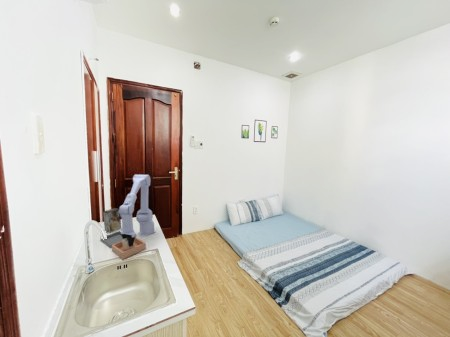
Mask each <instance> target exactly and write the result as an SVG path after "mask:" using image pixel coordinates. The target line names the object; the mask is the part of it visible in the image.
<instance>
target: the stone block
mask: <svg viewBox="0 0 450 337" xmlns="http://www.w3.org/2000/svg"><path fill="white" fill-rule="evenodd" d="M122 246H123V248H125V249H126V250H128V249H130V248H132V247H134V246H135V242H134V243H133V246H131V247H129V244H128V240H127V238H125V239H122Z"/></svg>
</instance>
